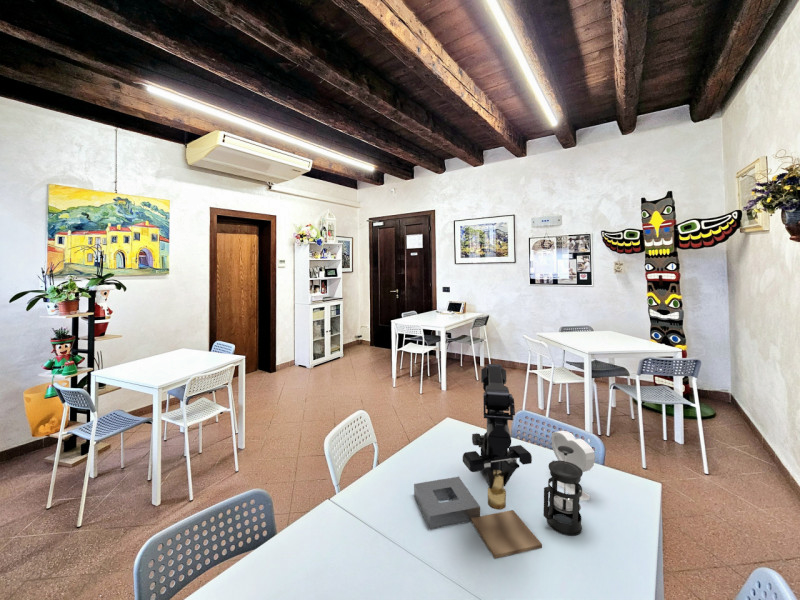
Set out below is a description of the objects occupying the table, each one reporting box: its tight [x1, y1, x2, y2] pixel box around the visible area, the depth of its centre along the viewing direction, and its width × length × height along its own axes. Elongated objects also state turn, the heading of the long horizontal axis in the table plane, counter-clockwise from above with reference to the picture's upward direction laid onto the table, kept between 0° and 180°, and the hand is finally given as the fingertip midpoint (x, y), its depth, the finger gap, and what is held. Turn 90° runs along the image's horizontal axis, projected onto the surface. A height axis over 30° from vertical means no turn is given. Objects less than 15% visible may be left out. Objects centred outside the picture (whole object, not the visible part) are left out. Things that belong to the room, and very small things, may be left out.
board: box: [470, 509, 543, 559], centre depth 98 cm, size 14×14×1 cm
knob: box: [487, 470, 507, 511], centre depth 98 cm, size 5×5×9 cm
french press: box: [542, 446, 584, 537], centre depth 100 cm, size 12×9×23 cm
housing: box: [413, 476, 481, 530], centre depth 109 cm, size 16×16×4 cm
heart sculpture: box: [550, 430, 596, 501], centre depth 117 cm, size 16×5×18 cm, turn 17°
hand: (496, 486), depth 98 cm, fingers closed on knob, 4 cm apart
